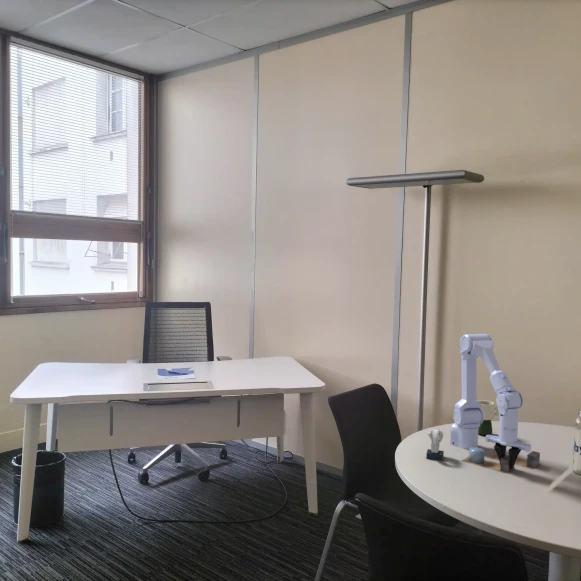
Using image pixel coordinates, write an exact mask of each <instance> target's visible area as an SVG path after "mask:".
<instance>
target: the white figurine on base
mask: <svg viewBox="0 0 581 581" xmlns="http://www.w3.org/2000/svg"><path fill="white" fill-rule="evenodd" d="M427 436H428V437H429V438H430V441H431V445H430V447H431V448H430V449H429V448H427V449H426V453H425V454H426V457H425V458H426V460H434V461H435V460H436V461H441V462H443V460H444V457H445V456H444V453H445V452H444V450H441V449H440V444H441V442H442V440H443V438H444V433H443V431H442V430H440V429H437V428H432V429H430V430H429V432H428V433H427Z"/></svg>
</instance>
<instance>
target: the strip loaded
mask: <svg viewBox="0 0 581 581" xmlns="http://www.w3.org/2000/svg"><path fill="white" fill-rule="evenodd" d="M461 462H464V463H466V464H471V465H474V466H478V467H481V468H485V469H489V470H492V471H495V472H499V473H501V474H502V473H503V474H509V473H510V472H511V471H514V469H516V467H515V466H514V468H513V469H512V470H511V469H509V462H510V458H509V454H506V456H504V457H503V458H501V467H500V462H495V461H492V460H488V459H485V458H484V463H482V464H475V463H472V462H470V461H469V456H467V457H465V458H463V459H462V460H461Z"/></svg>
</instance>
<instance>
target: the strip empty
mask: <svg viewBox="0 0 581 581" xmlns="http://www.w3.org/2000/svg"><path fill="white" fill-rule="evenodd" d="M506 455H507V453H505V456H506ZM540 457H541V452H538V451H534V450H531V451H530V452H528V453H527V455H526V459H525V458H522V457H519V456H518V457H517V459H516V461H515V465H516V466H520V467H523V468H528V469H529V470H530V469H531V470H534V469H536V468H537V467H538V466H540V465H541V464H542V463H540V462H541V458H540ZM487 458H490V459H494V460H497V461H499V458H498V455H497V453H496V451H494V452H493V453H491V454H489V455H488V456H487ZM515 465H514V466H515Z"/></svg>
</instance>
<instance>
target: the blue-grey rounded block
mask: <svg viewBox="0 0 581 581" xmlns="http://www.w3.org/2000/svg"><path fill="white" fill-rule="evenodd" d="M468 452H469V453H468V454H469V461H470V462H472V463H475V464H482V463H484V459H485V452H486V451H485V449H484V448H482V447H472V448H470V449H468Z"/></svg>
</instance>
